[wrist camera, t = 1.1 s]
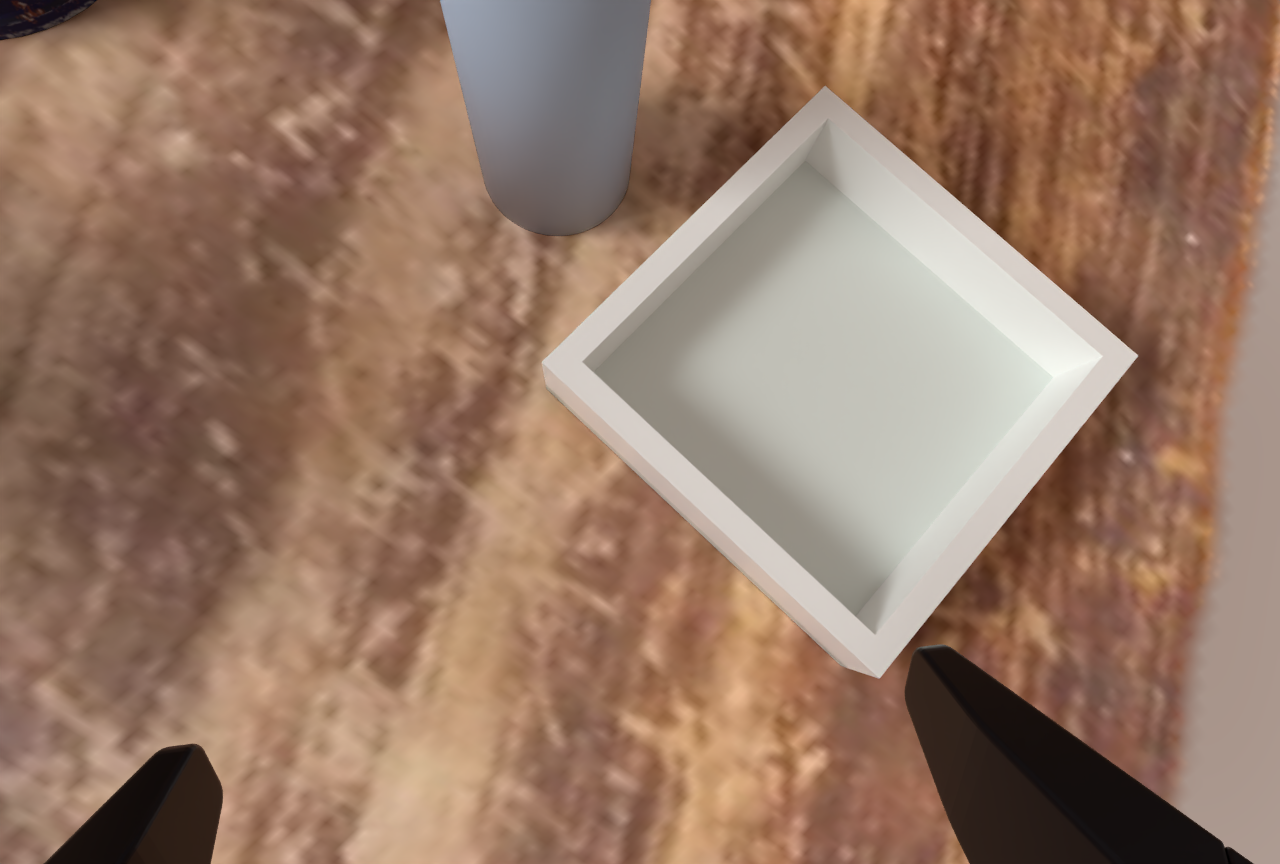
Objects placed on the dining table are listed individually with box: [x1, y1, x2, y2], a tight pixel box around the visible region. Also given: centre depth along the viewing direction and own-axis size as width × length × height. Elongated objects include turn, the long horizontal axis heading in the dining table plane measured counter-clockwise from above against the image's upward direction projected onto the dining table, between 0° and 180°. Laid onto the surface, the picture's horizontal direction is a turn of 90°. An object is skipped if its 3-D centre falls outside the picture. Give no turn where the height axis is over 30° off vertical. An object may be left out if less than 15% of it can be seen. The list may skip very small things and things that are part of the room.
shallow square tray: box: [542, 86, 1138, 678], centre depth 23 cm, size 13×13×3 cm
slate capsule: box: [440, 0, 651, 236], centre depth 19 cm, size 5×5×13 cm
